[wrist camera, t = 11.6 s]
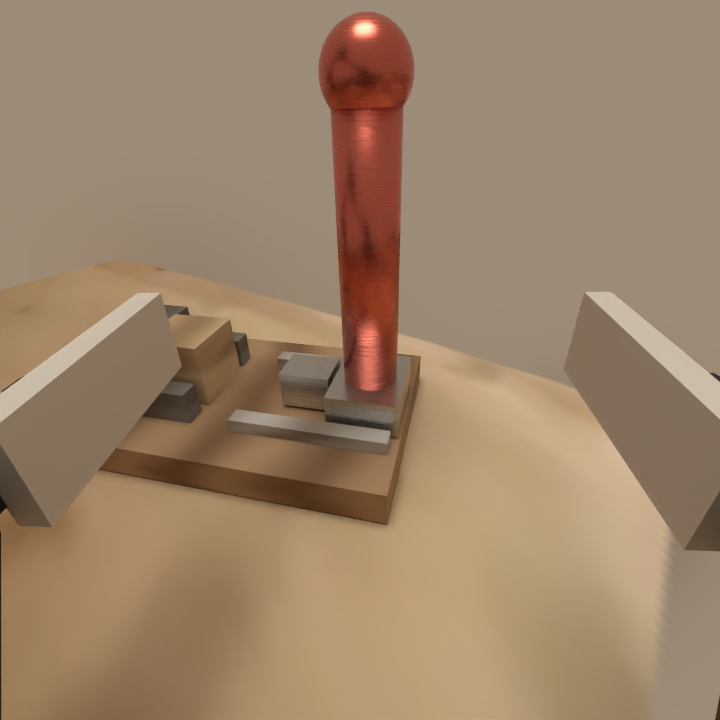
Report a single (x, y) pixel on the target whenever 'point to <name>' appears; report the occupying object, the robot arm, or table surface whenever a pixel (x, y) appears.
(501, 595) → the table surface
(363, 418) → the press lever
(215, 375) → the block
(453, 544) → the table surface
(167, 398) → the press bed
